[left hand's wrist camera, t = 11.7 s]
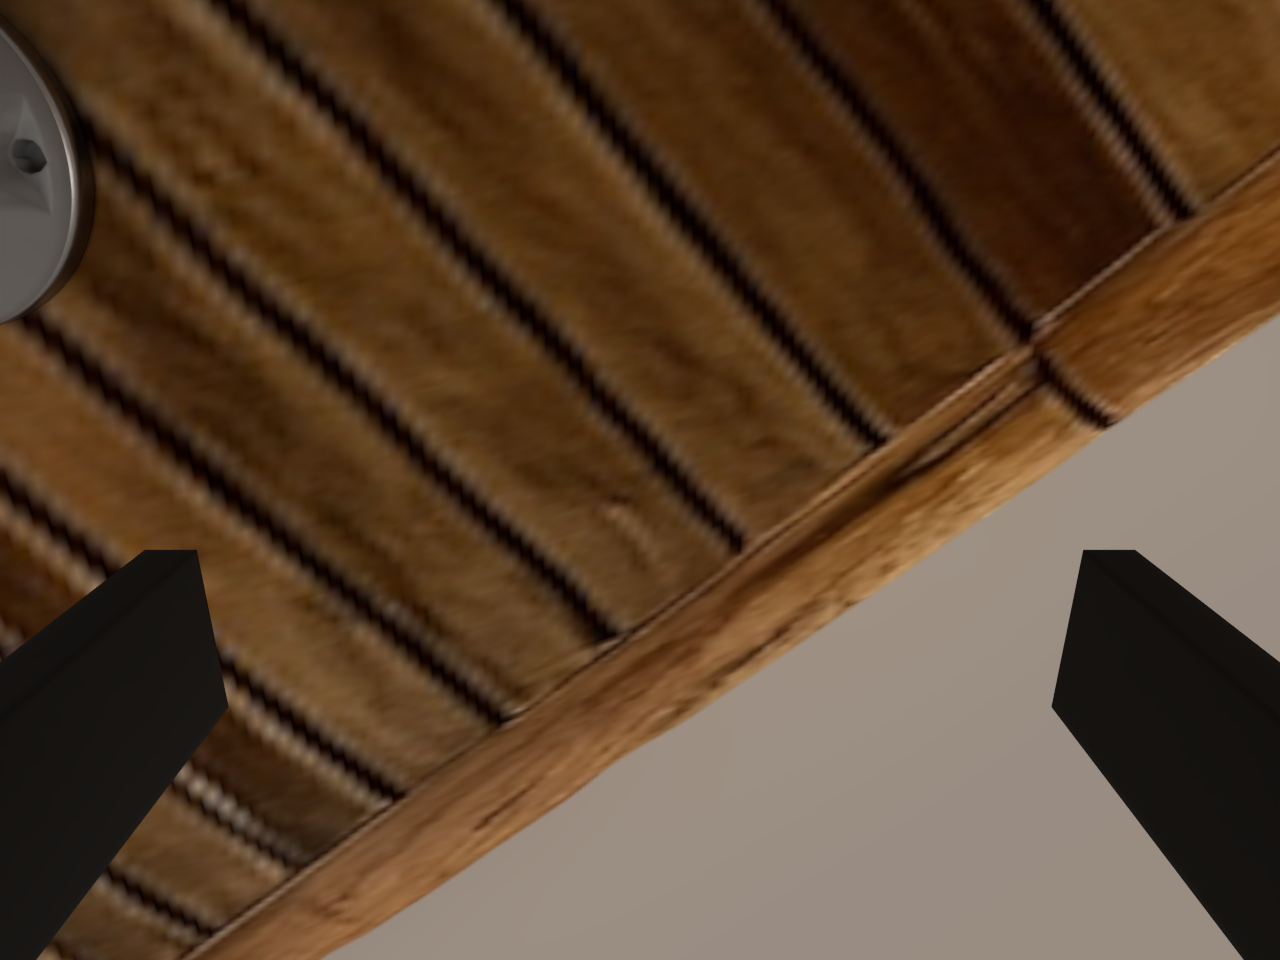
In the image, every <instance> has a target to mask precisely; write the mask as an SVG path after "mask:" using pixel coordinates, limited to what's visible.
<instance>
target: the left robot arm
mask: <svg viewBox="0 0 1280 960" xmlns="http://www.w3.org/2000/svg"><path fill="white" fill-rule="evenodd" d="M93 196H94V191H93V178H92V170H91V164H90V158H89V154H88V150H87V146H86V142H85V139H84V136H83V133H82V130H81V127H80V124H79V121H78V119H77V117H76V115H75V112H74V110H73V108H72V106H71V103H70V101H69V99H68V98H67V96H66V94H65V92H64V90H63V88H62V87H61V85H60V83H59V82H58V80H57V78H56V77H55V75H54V74H53V72H52V71H51V69H50V68H49V66H48V65H47V64H46V62H45V61H44V60H43V58H42V57H41V56H40V54H39V53H38V52H37V50H36V49H35V48H34V47H33V46H32V45H31V44H30V43H29V41H28V40H27V39H26V38H25V37H24V36H23V35H22V34H21V33H20V32H19V31H18V30H17V29H16V28H15V27H14V26H13V25H12V24H11V23H10V22H9V21H8V20H7V19H6V18H4V17H3V16H2V15H1V14H0V325H2V324H6V323H10V322H12V321H15V320H17V319H20V318H22V317H24V316H26V315H28V314H30V313H32V312H34V311H36V310H37V309H39V308H40V307H41V306H43V305H44V304H46V303H47V302H48V301H49V300H50V299H52V298H53V297H54V296H55V295H56V294H57V293H58V292H59V291H60V290H61V289H62V287H63V286H64V285H65V284H66V283H67V282H68V280H69V279H70V277H71V275H72V274H73V272H74V271H75V269H76V267H77V265H78V263H79V261H80V259H81V257H82V255H83V252H84V250H85V247H86V244H87V241H88V237H89V233H90V229H91V223H92V215H93ZM227 708H228V702H227V697H226V692H225V687H224V683H223V678H222V673H221V668H220V663H219V658H218V653H217V648H216V643H215V638H214V633H213V628H212V623H211V618H210V613H209V608H208V603H207V599H206V594H205V589H204V584H203V579H202V574H201V569H200V564H199V559H198V554H197V550H144V551H143V552H142V553H140V554H139V555H138V556H137V557H135V558H134V559H133V560H131V561H130V562H129V563H128V564H126V565H125V566H124V567H122V568H121V569H120V570H118V571H117V572H116V573H115V574H113V575H112V576H111V577H109V578H108V579H107V580H106V581H104V582H103V583H102V584H100V585H99V586H98V587H97V588H95V589H94V590H93V591H91V592H90V593H89V594H88V595H86V596H85V597H84V598H82V599H81V600H80V601H79V602H77V603H76V604H75V605H73V606H72V607H71V608H70V609H68V610H67V611H66V612H64V613H63V614H62V615H61V616H59V617H58V618H57V619H55V620H54V621H53V622H51V623H50V624H49V625H48V626H46V627H45V628H44V629H42V630H41V631H40V632H39V633H37V634H36V635H35V636H33V637H32V638H31V639H30V640H28V641H27V642H26V643H24V644H23V645H22V646H21V647H19V648H18V649H17V650H15V651H14V652H13V653H12V654H10V655H9V656H8V657H6V658H5V659H4V660H3V661H1V662H0V960H36V959H37V958H38V957H39V955H40V954H41V953H42V952H43V950H44V949H45V948H46V946H47V945H48V944H49V942H50V941H51V940H52V938H53V937H54V936H55V934H56V933H57V932H58V930H59V929H60V928H61V927H62V925H63V924H64V923H65V921H66V920H67V919H68V917H69V916H70V915H71V913H72V912H73V911H74V909H75V908H76V907H77V905H78V904H79V903H80V902H81V900H82V899H83V898H84V896H85V895H86V894H87V892H88V891H89V890H90V888H91V887H92V886H93V884H94V883H95V882H96V880H97V879H98V878H99V877H100V875H101V874H102V873H103V871H104V870H105V869H106V867H107V866H108V865H109V863H110V862H111V861H112V859H113V858H114V857H115V856H116V854H117V853H118V852H119V850H120V849H121V848H122V846H123V845H124V844H125V842H126V841H127V840H128V838H129V837H130V836H131V834H132V833H133V832H134V831H135V829H136V828H137V827H138V825H139V824H140V823H141V821H142V820H143V819H144V817H145V816H146V815H147V813H148V812H149V811H150V809H151V808H152V807H153V806H154V804H155V803H156V802H157V800H158V799H159V798H160V796H161V795H162V794H163V792H164V791H165V790H166V788H167V787H168V786H169V784H170V783H171V782H172V781H173V779H174V778H175V777H176V775H177V774H178V773H179V771H180V770H181V769H182V767H183V766H184V765H185V763H186V762H187V761H188V759H189V758H190V757H191V756H192V754H193V753H194V752H195V750H196V749H197V748H198V746H199V745H200V744H201V742H202V741H203V740H204V738H205V737H206V736H207V735H208V733H209V732H210V731H211V729H212V728H213V727H214V725H215V724H216V723H217V721H218V720H219V719H220V717H221V716H222V715H223V713H224V712H225V711H226V710H227ZM1052 708H1053V710H1054V711H1055V712H1056V713H1057V715H1058V716H1059V717H1060V719H1061V720H1062V721H1063V723H1064V724H1065V725H1066V727H1067V728H1068V729H1069V731H1070V732H1071V733H1072V735H1073V736H1074V737H1075V738H1076V740H1077V741H1078V742H1079V744H1080V745H1081V746H1082V748H1083V749H1084V750H1085V752H1086V753H1087V754H1088V756H1089V757H1090V758H1091V759H1092V761H1093V762H1094V763H1095V765H1096V766H1097V767H1098V769H1099V770H1100V771H1101V773H1102V774H1103V775H1104V777H1105V778H1106V779H1107V780H1108V782H1109V783H1110V784H1111V786H1112V787H1113V788H1114V790H1115V791H1116V792H1117V794H1118V795H1119V796H1120V798H1121V799H1122V800H1123V802H1124V803H1125V804H1126V806H1127V807H1128V808H1129V809H1130V811H1131V812H1132V813H1133V815H1134V816H1135V817H1136V819H1137V820H1138V821H1139V823H1140V824H1141V825H1142V827H1143V828H1144V829H1145V830H1146V832H1147V833H1148V834H1149V836H1150V837H1151V838H1152V840H1153V841H1154V842H1155V844H1156V845H1157V846H1158V848H1159V849H1160V850H1161V852H1162V853H1163V854H1164V856H1165V857H1166V858H1167V859H1168V861H1169V862H1170V863H1171V865H1172V866H1173V867H1174V869H1175V870H1176V871H1177V873H1178V874H1179V875H1180V877H1181V878H1182V879H1183V880H1184V882H1185V883H1186V884H1187V886H1188V887H1189V888H1190V890H1191V891H1192V892H1193V894H1194V895H1195V896H1196V898H1197V899H1198V900H1199V902H1200V903H1201V904H1202V905H1203V907H1204V908H1205V909H1206V911H1207V912H1208V913H1209V915H1210V916H1211V917H1212V919H1213V920H1214V921H1215V923H1216V924H1217V925H1218V927H1219V928H1220V929H1221V930H1222V932H1223V933H1224V934H1225V936H1226V937H1227V938H1228V940H1229V941H1230V942H1231V944H1232V945H1233V946H1234V948H1235V949H1236V950H1237V952H1238V953H1239V954H1240V955H1241V957H1242V958H1243V959H1244V960H1280V662H1279V661H1277V660H1276V659H1275V658H1274V657H1272V656H1271V655H1270V654H1268V653H1267V652H1266V651H1265V650H1263V649H1262V648H1261V647H1259V646H1258V645H1257V644H1256V643H1254V642H1253V641H1252V640H1250V639H1249V638H1248V637H1247V636H1245V635H1244V634H1243V633H1241V632H1240V631H1239V630H1237V629H1236V628H1235V627H1234V626H1232V625H1231V624H1230V623H1229V622H1227V621H1226V620H1225V619H1223V618H1222V617H1221V616H1219V615H1218V614H1217V613H1216V612H1214V611H1213V610H1212V609H1210V608H1209V607H1208V606H1207V605H1205V604H1204V603H1203V602H1201V601H1200V600H1199V599H1198V598H1196V597H1195V596H1194V595H1192V594H1191V593H1190V592H1189V591H1187V590H1186V589H1185V588H1183V587H1182V586H1181V585H1180V584H1178V583H1177V582H1176V581H1174V580H1173V579H1172V578H1171V577H1169V576H1168V575H1167V574H1165V573H1164V572H1163V571H1162V570H1160V569H1159V568H1157V567H1156V566H1155V565H1154V564H1152V563H1151V562H1150V561H1149V560H1147V559H1146V558H1145V557H1143V556H1142V555H1141V554H1140V553H1138V552H1137V551H1136V550H1083V554H1082V559H1081V564H1080V569H1079V574H1078V579H1077V584H1076V589H1075V594H1074V599H1073V603H1072V608H1071V613H1070V618H1069V623H1068V628H1067V633H1066V638H1065V643H1064V648H1063V653H1062V658H1061V663H1060V668H1059V673H1058V678H1057V683H1056V688H1055V693H1054V698H1053V702H1052Z"/></svg>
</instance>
